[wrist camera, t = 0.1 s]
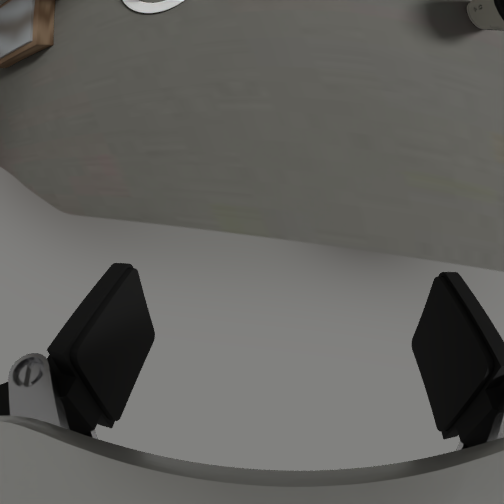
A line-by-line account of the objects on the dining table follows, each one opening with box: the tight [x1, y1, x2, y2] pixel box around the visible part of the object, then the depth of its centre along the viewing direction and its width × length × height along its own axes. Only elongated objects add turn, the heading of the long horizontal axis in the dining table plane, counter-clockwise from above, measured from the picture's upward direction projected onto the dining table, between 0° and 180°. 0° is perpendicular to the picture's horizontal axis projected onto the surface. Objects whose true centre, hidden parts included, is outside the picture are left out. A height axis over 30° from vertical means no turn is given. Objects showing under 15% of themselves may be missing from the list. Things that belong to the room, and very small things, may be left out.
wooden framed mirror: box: [0, 0, 55, 68], centre depth 26 cm, size 12×12×5 cm
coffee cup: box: [467, 0, 504, 31], centre depth 18 cm, size 7×7×10 cm
